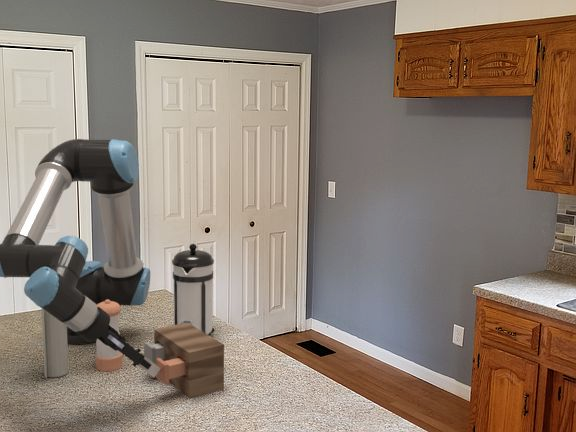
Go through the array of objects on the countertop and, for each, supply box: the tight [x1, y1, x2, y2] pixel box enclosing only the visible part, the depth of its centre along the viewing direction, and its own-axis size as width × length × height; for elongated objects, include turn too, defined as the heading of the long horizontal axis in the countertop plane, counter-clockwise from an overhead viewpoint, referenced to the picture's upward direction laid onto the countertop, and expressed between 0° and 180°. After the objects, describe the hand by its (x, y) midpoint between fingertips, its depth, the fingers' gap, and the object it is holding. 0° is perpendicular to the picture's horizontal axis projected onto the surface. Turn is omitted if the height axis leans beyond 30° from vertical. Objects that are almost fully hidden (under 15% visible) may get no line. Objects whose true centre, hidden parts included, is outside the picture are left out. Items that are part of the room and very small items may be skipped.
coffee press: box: [171, 243, 215, 335], centre depth 198 cm, size 17×16×30 cm
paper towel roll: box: [41, 308, 69, 381], centre depth 168 cm, size 7×6×21 cm
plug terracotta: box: [155, 357, 186, 386], centre depth 160 cm, size 5×14×5 cm, turn 127°
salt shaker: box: [94, 299, 124, 372], centre depth 174 cm, size 7×7×19 cm
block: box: [153, 323, 225, 399], centre depth 167 cm, size 20×10×12 cm, turn 37°
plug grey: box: [143, 341, 165, 364], centre depth 170 cm, size 5×14×5 cm, turn 127°
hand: (156, 372), depth 155 cm, fingers closed
